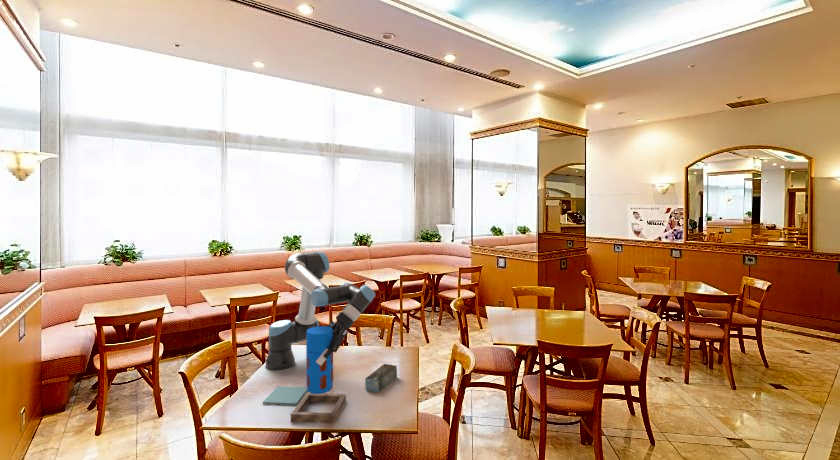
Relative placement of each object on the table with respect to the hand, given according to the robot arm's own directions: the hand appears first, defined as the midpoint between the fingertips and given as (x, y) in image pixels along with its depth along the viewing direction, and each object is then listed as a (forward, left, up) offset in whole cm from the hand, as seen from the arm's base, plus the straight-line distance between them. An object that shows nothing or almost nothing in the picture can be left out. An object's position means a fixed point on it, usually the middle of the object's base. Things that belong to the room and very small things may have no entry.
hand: (313, 359), depth 158 cm
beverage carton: (+24, +30, -23) cm, 45 cm away
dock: (+2, +2, -23) cm, 23 cm away
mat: (-17, +13, -23) cm, 31 cm away
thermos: (+2, +2, -13) cm, 14 cm away
